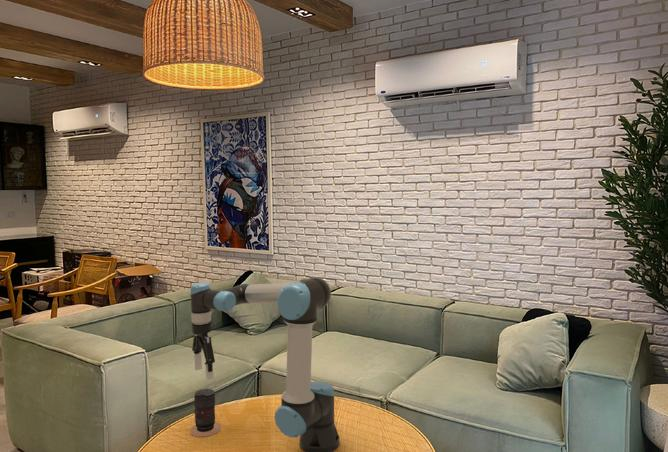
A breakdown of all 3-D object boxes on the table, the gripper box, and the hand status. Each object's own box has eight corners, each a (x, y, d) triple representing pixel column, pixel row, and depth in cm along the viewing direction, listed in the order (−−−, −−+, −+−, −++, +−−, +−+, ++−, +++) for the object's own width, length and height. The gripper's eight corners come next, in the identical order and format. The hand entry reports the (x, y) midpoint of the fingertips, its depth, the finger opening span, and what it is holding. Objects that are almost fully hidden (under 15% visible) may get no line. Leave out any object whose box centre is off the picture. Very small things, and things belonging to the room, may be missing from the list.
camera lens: (212, 433, 198) (211, 396, 197) (192, 433, 198) (191, 396, 197) (218, 423, 206) (217, 388, 205) (198, 423, 206) (197, 388, 205)
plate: (225, 431, 200) (225, 429, 200) (195, 440, 194) (195, 438, 194) (214, 420, 210) (214, 418, 210) (186, 428, 204) (186, 426, 204)
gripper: (222, 327, 190) (224, 381, 192) (200, 314, 211) (202, 363, 213) (202, 330, 186) (205, 386, 188) (183, 317, 207) (185, 367, 209)
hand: (203, 374), depth 200 cm, fingers open, 13 cm apart
